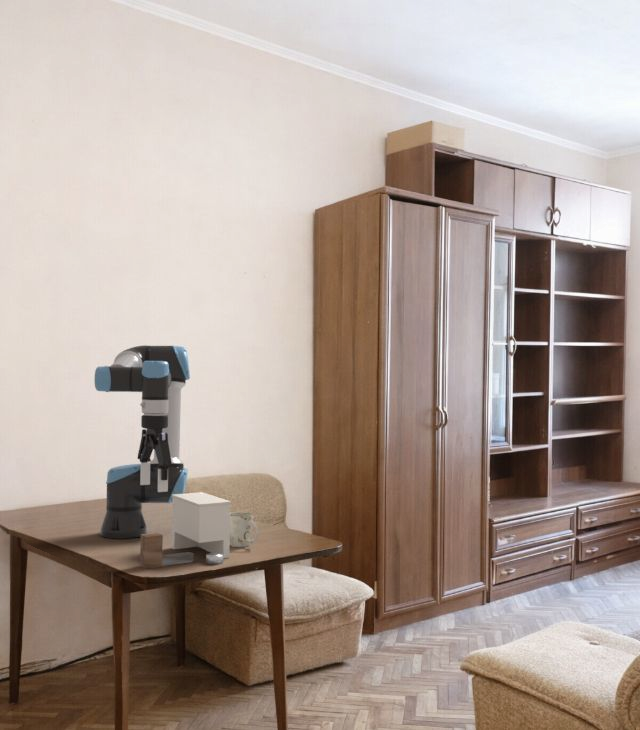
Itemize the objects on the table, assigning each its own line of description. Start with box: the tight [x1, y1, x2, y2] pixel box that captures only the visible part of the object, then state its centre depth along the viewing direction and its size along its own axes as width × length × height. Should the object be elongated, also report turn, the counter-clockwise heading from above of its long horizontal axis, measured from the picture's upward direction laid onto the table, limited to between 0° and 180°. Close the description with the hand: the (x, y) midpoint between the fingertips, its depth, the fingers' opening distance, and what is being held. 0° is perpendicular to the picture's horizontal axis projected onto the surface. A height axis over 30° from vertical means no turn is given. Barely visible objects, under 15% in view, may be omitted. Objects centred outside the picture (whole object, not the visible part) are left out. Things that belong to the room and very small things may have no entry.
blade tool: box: [139, 532, 194, 570], centre depth 227 cm, size 4×15×9 cm, turn 124°
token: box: [205, 552, 224, 566], centre depth 229 cm, size 5×5×2 cm
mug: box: [230, 511, 259, 548], centre depth 251 cm, size 8×13×10 cm, turn 51°
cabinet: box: [171, 491, 232, 559], centre depth 241 cm, size 20×10×17 cm, turn 34°
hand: (153, 488), depth 226 cm, fingers open, 13 cm apart
